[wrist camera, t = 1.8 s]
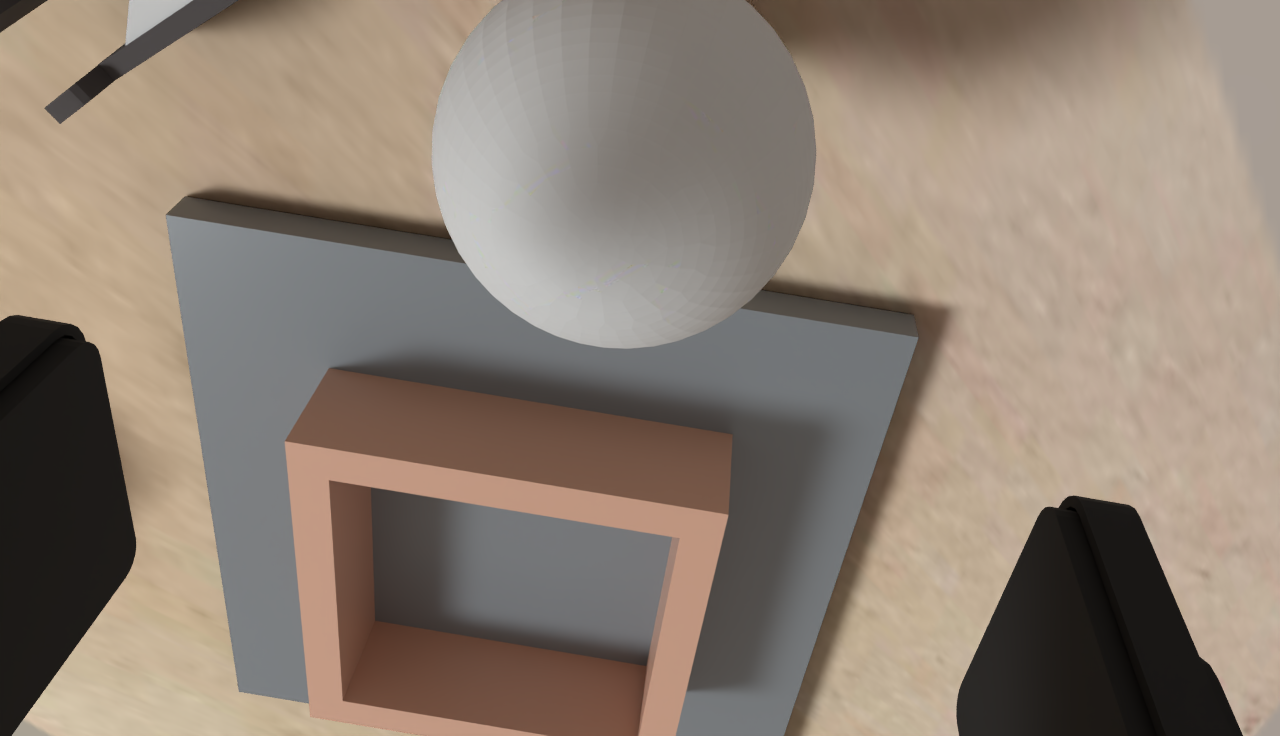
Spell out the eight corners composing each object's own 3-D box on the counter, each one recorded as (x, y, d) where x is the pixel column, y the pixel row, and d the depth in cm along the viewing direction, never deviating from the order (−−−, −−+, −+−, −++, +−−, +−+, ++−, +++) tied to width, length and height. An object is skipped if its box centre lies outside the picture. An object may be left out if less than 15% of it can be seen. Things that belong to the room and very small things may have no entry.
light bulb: (865, 9, 22) (920, 238, 13) (678, 203, 24) (630, 488, 16) (644, -202, 20) (552, -84, 12) (471, 35, 23) (302, 261, 15)
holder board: (184, 196, 26) (99, 278, 22) (914, 315, 25) (934, 415, 22) (250, 667, 36) (199, 770, 33) (768, 754, 36) (768, 866, 33)
